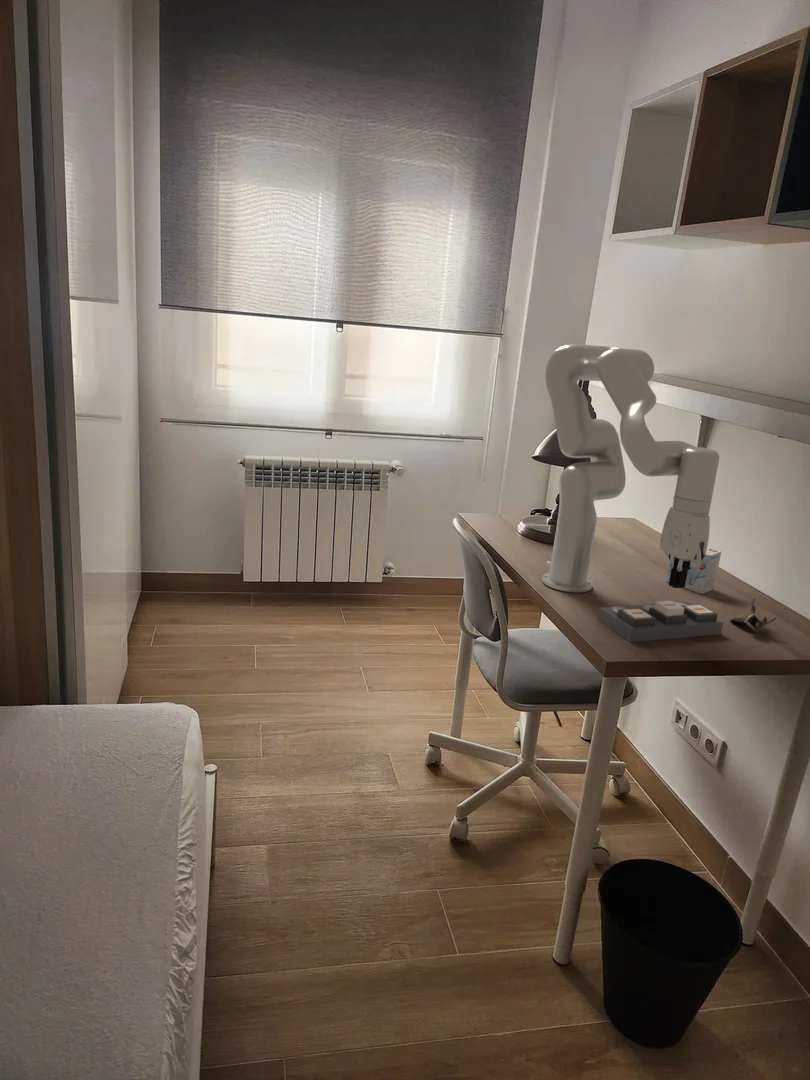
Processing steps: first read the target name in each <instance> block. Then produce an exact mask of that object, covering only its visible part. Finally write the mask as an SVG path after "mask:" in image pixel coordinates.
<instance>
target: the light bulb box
mask: <svg viewBox="0 0 810 1080" xmlns="http://www.w3.org/2000/svg"><path fill="white" fill-rule="evenodd" d="M721 556H722V551H721V550H717V549H713V548H711V547H710V548H709V547H707V551H706V555H705V558H704V559H703V560H701V567H700V568H691V570H690V571H688V573H687V578H686V584H685V587H684V589H687V590H688V591H692V592H694V593H697V594H700V593H701V595H703V594H706V593H708V592H710V591H712V589H713V590H714V586H715V582H716V577H717V573H718V569H719V565H720V561H721ZM685 562H686V561H685ZM671 569H672V568H671V567H670V562H669V564H668V568H667V572H666V573H667V574H666V577H665V578H666V579H665V582H666V583H669V580H670V574H671Z"/></svg>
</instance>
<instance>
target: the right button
mask: <svg viewBox="0 0 810 1080" xmlns="http://www.w3.org/2000/svg"><path fill="white" fill-rule="evenodd" d="M701 605H702V604H700V605H698V604H692V605H690V606H685V608H687V609H688V610H690V611H692V612H694V613H695V614H697V615H702V614H713V612H714V611H713V610H711V609H709V608H708V607H706V606H704V605H702V606H701ZM703 606H704V607H703ZM705 607H706V608H705ZM707 608H708V609H709V610H708V609H707ZM710 610H711V611H710ZM712 611H713V612H712Z"/></svg>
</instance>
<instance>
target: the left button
mask: <svg viewBox="0 0 810 1080" xmlns="http://www.w3.org/2000/svg"><path fill="white" fill-rule="evenodd" d="M623 612H624V613H626V614H627V615H629V616H631V617H632V618H634V619H645V618H652V616H650V615H648V614H647V613H645V612H644V611H642V610H641V609H628V610H623Z"/></svg>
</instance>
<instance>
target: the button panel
mask: <svg viewBox="0 0 810 1080" xmlns="http://www.w3.org/2000/svg"><path fill="white" fill-rule="evenodd" d="M675 603H676V604H678V605H680V606H682V607H683V608H684V613H683V615H679V616H665V615H664V614H662V613H661V612H659V611H657V610H656V609H654V607H655V603H654V604H653V603H652V604H651V603H650V604H638V605H636V604H635V605H634V604H633V605H623V606H605V607H599V610H598V615H597V621H598V620H600V621H601V622H602V623H601V622H600V621H599V622H600V623H601V624H603V623H604V624H605V625H604V624H603V625H604V626H606V625H607V626H608V627H609V629H610V628H611V629H612V630H611V629H610V630H611V631H613V633H616V635H618V636H620V637H621V638H622V639H624V640H626V641H627V642H629V643H635V642H637V643H638V642H645V641H658V640H659V641H660V640H661V641H662V640H671V639H685V638H695V637H707V636H720V635H722V630H723V627H724V622H723V621H722V620H721V619H718V615H719V614H718V613H717V612H715V611H714V610H712V609H710V608H708V607H706V606H704V605H702V604H697V605H701V606H703V607H705V608H707V609H708V610H710V611H712V612H713V614H702V615H697V614H695V613H694V612H692V611H690V610H688V609H687V608H685V606H690V605H693V603H690V602H689V601H685V602H675ZM628 609H641V610H642V611H644V612H645V613H647V614H648V615H650V616H652V618H645V619H634V618H632V617H631V616H629V615H627V614H626V613H624V612H623V610H628ZM607 626H606V627H607ZM608 627H607V628H608Z"/></svg>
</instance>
